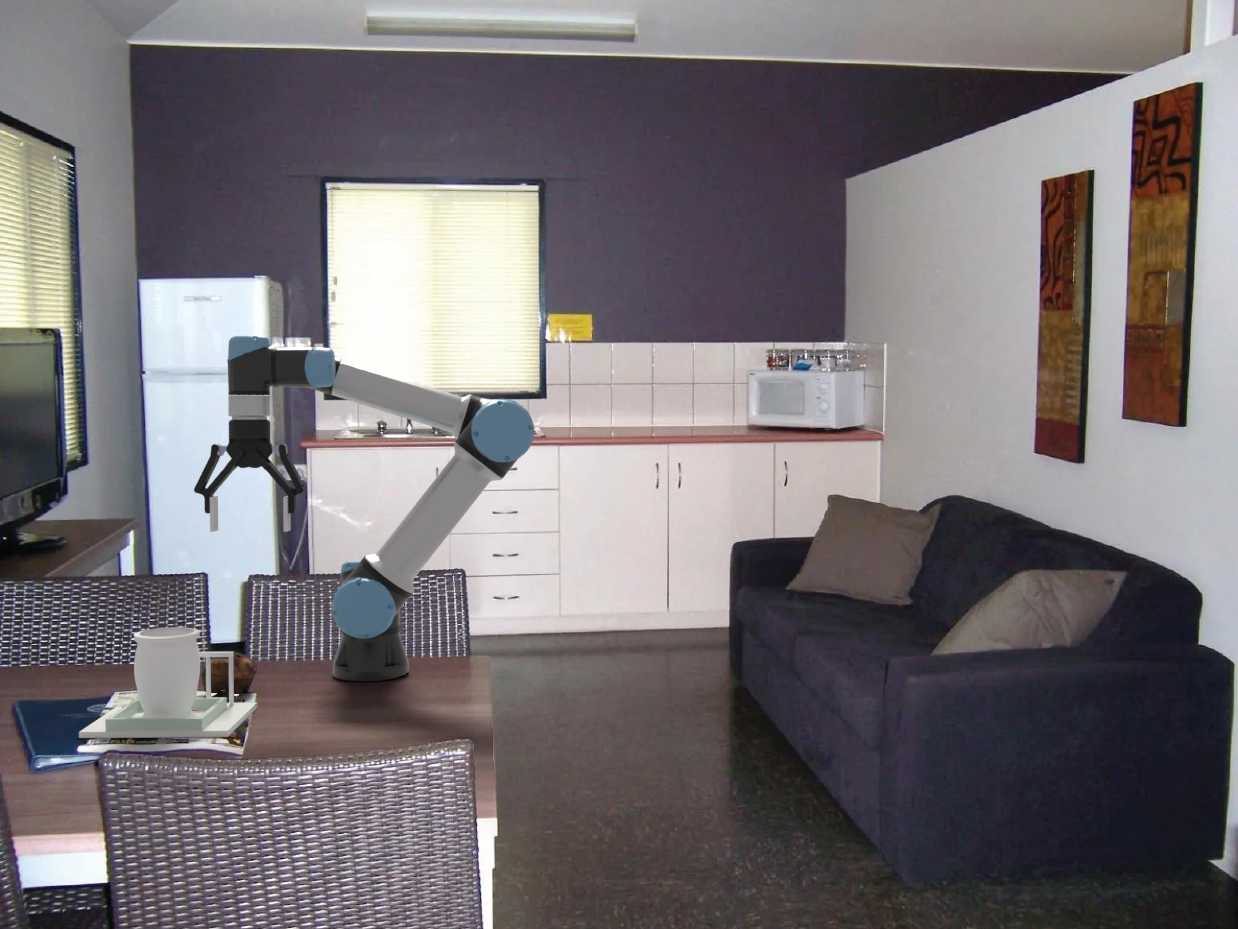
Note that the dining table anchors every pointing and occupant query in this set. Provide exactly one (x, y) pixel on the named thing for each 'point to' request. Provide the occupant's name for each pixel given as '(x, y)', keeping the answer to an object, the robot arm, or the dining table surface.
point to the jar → (167, 671)
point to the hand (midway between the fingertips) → (250, 531)
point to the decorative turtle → (241, 669)
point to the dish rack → (207, 721)
